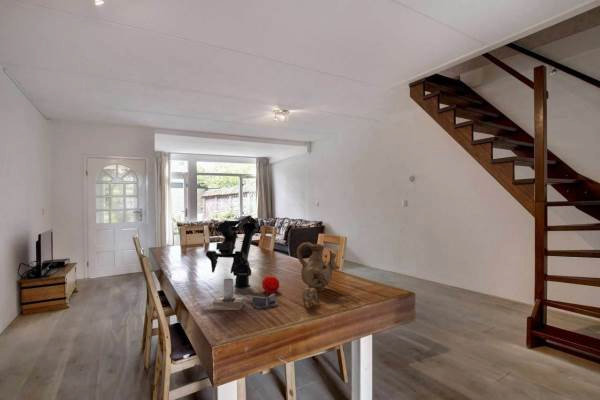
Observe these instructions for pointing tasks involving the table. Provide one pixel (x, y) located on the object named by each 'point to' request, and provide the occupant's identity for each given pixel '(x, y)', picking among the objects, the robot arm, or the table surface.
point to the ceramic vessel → (316, 267)
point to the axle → (228, 290)
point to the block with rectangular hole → (228, 304)
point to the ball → (270, 284)
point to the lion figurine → (309, 295)
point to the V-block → (263, 301)
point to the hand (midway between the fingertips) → (221, 272)
